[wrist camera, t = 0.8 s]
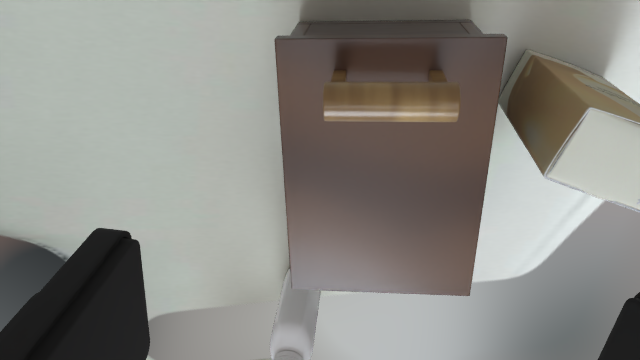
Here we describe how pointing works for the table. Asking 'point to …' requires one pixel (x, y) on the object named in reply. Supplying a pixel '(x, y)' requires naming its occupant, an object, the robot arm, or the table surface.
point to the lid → (386, 157)
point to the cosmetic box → (576, 128)
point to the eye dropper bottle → (294, 323)
